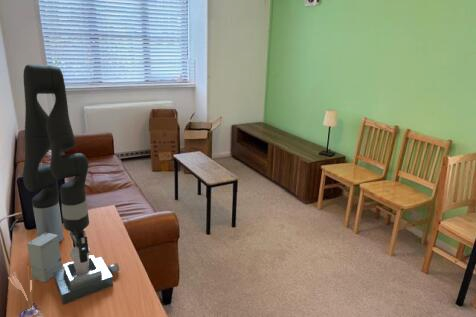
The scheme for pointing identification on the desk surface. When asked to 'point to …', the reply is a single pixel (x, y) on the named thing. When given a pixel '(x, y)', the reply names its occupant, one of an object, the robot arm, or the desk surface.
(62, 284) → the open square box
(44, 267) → the skincare box
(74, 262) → the smoothie
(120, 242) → the desk surface
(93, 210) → the desk surface
